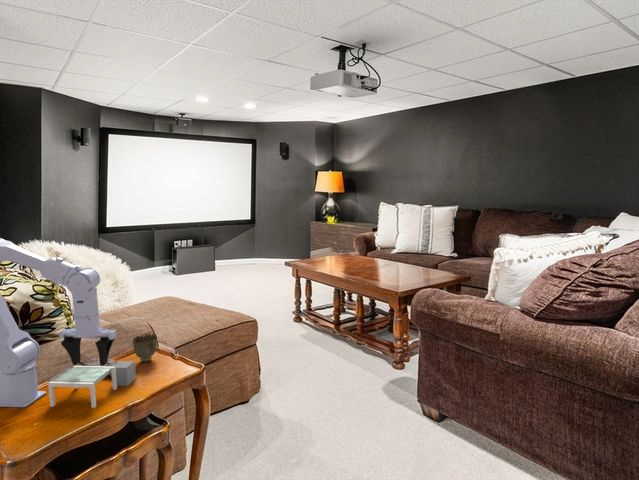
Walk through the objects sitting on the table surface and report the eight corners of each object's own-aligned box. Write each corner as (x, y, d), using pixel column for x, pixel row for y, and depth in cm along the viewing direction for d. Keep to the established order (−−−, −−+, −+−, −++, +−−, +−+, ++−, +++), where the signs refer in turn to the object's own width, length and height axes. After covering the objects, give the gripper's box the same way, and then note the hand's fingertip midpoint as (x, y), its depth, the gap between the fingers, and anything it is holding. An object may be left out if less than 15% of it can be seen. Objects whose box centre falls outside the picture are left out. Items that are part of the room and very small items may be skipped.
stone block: (112, 385, 121) (111, 367, 121) (121, 378, 126) (119, 360, 125) (127, 386, 121) (126, 367, 120) (135, 378, 126) (134, 361, 125)
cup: (138, 356, 142) (137, 333, 141) (161, 356, 142) (159, 333, 141) (130, 365, 135) (128, 341, 134) (153, 365, 135) (152, 341, 134)
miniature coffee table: (50, 406, 110) (48, 382, 109) (76, 387, 120) (74, 365, 120) (94, 407, 109) (92, 384, 108) (117, 388, 119) (115, 366, 119)
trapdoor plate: (48, 386, 110) (47, 380, 110) (69, 372, 119) (68, 367, 119) (93, 387, 109) (93, 382, 109) (111, 373, 118) (111, 368, 118)
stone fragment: (118, 385, 124) (145, 371, 133) (117, 375, 123) (145, 362, 132) (64, 368, 135) (93, 356, 144) (63, 359, 135) (92, 348, 143)
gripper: (121, 310, 115) (124, 358, 117) (70, 310, 116) (74, 357, 118) (106, 318, 108) (109, 369, 110) (52, 317, 109) (56, 368, 111)
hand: (90, 363), depth 113 cm, fingers open, 7 cm apart
